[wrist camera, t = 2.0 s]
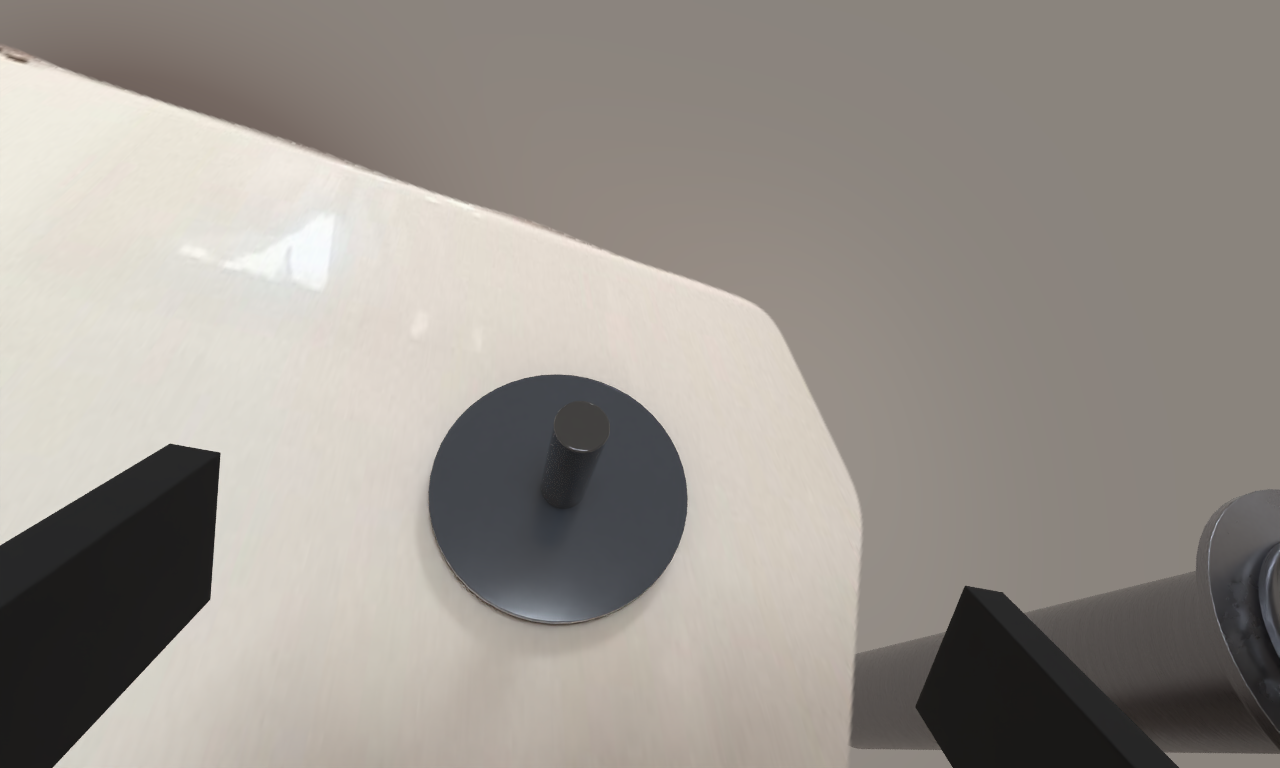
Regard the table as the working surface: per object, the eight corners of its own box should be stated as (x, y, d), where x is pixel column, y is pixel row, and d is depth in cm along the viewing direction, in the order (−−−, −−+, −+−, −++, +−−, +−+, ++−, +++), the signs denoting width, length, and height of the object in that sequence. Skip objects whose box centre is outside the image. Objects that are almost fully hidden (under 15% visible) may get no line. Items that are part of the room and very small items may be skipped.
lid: (715, 447, 42) (773, 374, 34) (622, 674, 35) (666, 652, 27) (510, 346, 43) (517, 249, 34) (375, 549, 35) (342, 489, 27)
